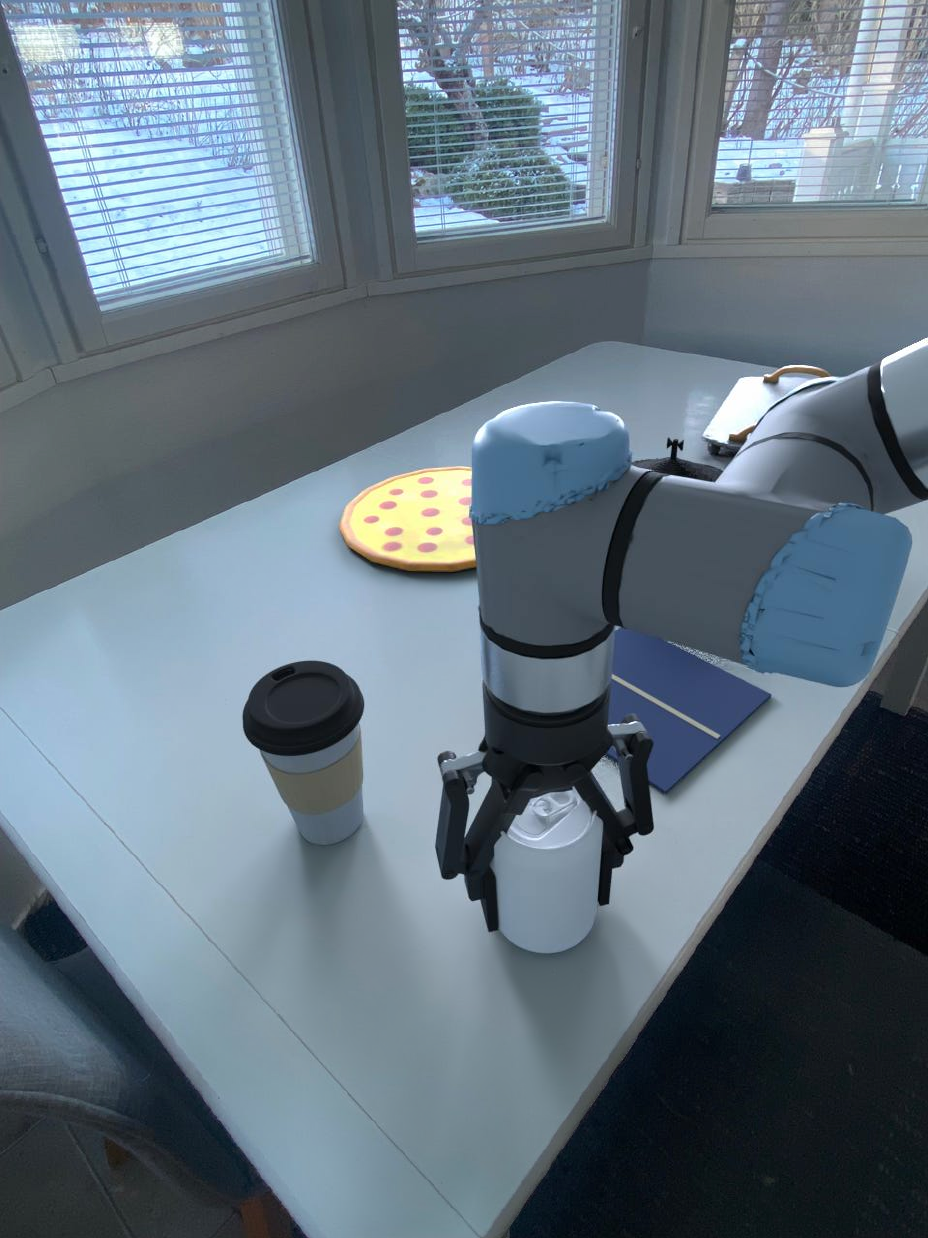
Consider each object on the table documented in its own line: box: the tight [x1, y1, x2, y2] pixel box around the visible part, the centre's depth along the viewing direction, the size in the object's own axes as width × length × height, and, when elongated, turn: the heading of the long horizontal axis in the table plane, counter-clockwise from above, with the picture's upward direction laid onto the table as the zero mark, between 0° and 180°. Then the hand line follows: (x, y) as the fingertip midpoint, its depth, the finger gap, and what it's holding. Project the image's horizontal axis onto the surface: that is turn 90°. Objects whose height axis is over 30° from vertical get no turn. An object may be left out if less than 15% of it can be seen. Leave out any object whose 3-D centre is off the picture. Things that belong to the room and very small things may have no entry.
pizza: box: [338, 465, 477, 573], centre depth 109 cm, size 32×32×1 cm
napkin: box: [604, 627, 772, 795], centre depth 75 cm, size 18×18×1 cm
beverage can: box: [490, 786, 603, 954], centre depth 53 cm, size 8×8×12 cm
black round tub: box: [631, 436, 724, 483], centre depth 95 cm, size 18×18×15 cm
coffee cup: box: [241, 659, 365, 846], centre depth 60 cm, size 9×9×15 cm
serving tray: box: [700, 364, 833, 455], centre depth 128 cm, size 39×23×6 cm, turn 152°
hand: (544, 902), depth 56 cm, fingers closed on beverage can, 8 cm apart
